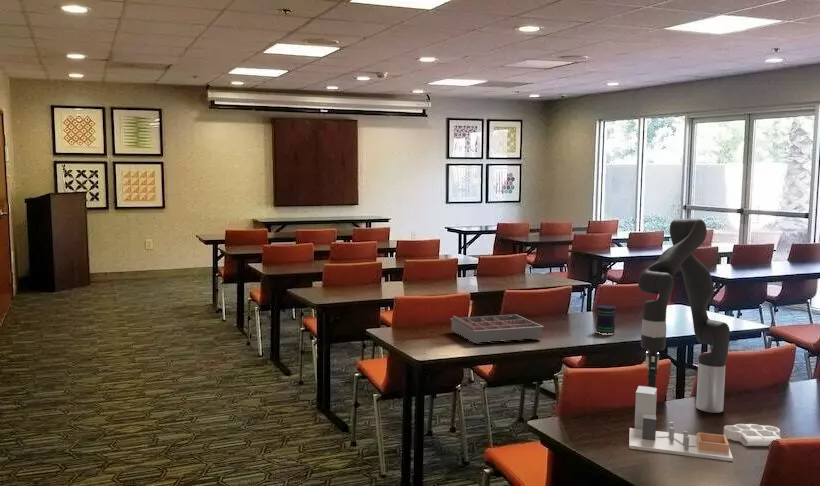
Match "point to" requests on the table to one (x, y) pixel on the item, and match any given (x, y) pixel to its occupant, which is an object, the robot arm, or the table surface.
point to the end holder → (709, 444)
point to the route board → (673, 444)
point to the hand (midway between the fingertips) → (651, 382)
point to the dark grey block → (649, 427)
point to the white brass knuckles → (752, 434)
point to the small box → (644, 404)
